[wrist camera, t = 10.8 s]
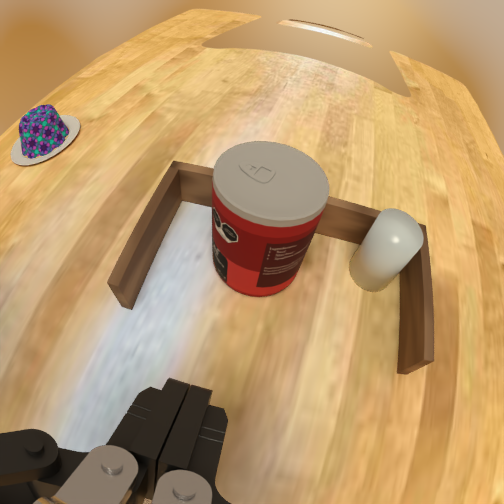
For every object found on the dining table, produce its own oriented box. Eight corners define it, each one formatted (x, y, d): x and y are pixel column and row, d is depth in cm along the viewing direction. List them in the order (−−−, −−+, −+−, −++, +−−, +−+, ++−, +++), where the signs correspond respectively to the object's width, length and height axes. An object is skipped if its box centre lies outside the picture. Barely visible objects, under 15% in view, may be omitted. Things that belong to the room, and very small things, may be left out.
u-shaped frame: (121, 306, 26) (107, 282, 22) (176, 191, 34) (173, 160, 30) (406, 374, 25) (434, 361, 21) (406, 250, 33) (425, 225, 29)
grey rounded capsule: (341, 276, 30) (369, 233, 24) (358, 244, 32) (385, 200, 26) (381, 300, 29) (417, 262, 23) (395, 266, 31) (427, 226, 25)
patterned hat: (-1, 168, 35) (-14, 142, 30) (39, 119, 41) (31, 95, 37) (55, 171, 35) (42, 140, 30) (94, 118, 41) (88, 90, 37)
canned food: (225, 220, 32) (231, 131, 23) (303, 240, 32) (334, 156, 23) (200, 285, 28) (194, 201, 19) (289, 309, 28) (325, 235, 18)
